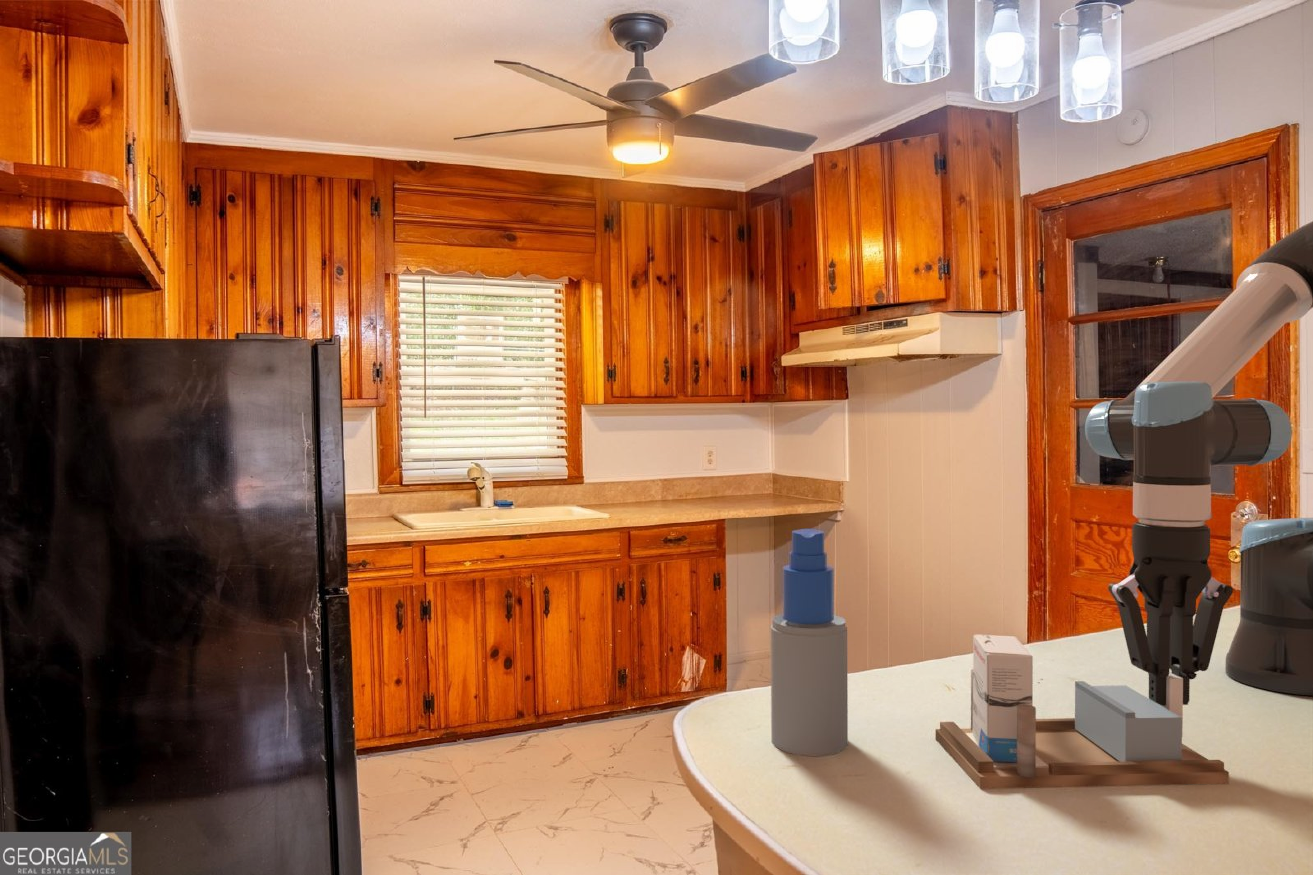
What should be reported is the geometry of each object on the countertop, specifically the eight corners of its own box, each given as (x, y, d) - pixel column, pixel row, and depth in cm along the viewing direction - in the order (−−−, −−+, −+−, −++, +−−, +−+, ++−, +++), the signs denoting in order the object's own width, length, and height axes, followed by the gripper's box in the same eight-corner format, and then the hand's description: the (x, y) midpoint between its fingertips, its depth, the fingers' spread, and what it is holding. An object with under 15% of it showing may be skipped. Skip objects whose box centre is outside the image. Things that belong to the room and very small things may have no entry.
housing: (1125, 727, 107) (1125, 680, 107) (1181, 764, 96) (1182, 711, 96) (1074, 728, 107) (1075, 681, 107) (1125, 765, 96) (1125, 712, 96)
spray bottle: (779, 725, 113) (778, 524, 113) (852, 732, 110) (851, 527, 110) (764, 750, 105) (762, 534, 104) (842, 760, 102) (841, 537, 101)
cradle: (1150, 733, 109) (1150, 665, 109) (1231, 785, 94) (1231, 706, 94) (934, 737, 108) (934, 669, 108) (981, 790, 94) (981, 711, 93)
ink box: (1034, 764, 96) (1034, 654, 96) (985, 762, 97) (985, 652, 97) (1016, 736, 105) (1016, 634, 105) (971, 733, 106) (971, 633, 105)
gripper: (1207, 516, 105) (1204, 720, 105) (1095, 518, 104) (1093, 722, 105) (1251, 525, 97) (1248, 744, 98) (1131, 526, 97) (1129, 746, 97)
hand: (1168, 732), depth 101 cm, fingers closed
